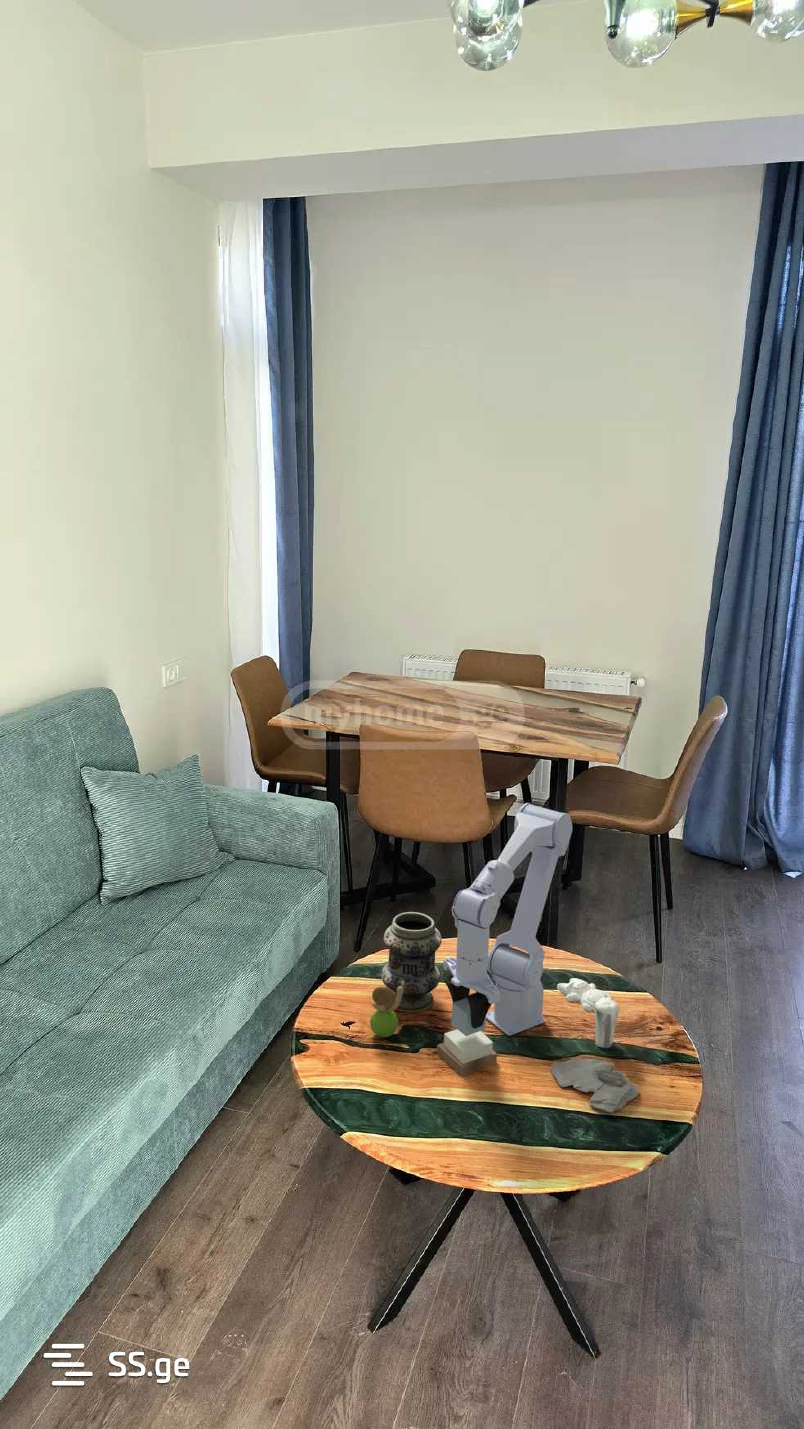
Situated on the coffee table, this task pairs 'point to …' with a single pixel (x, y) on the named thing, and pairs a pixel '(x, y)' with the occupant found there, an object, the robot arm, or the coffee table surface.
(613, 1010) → the milkshake
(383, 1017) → the snail figurine
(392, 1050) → the coffee table surface
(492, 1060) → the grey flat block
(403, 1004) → the apothecary jar
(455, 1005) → the slate block
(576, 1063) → the fossil
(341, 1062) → the coffee table surface
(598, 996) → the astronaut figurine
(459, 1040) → the cream slab
